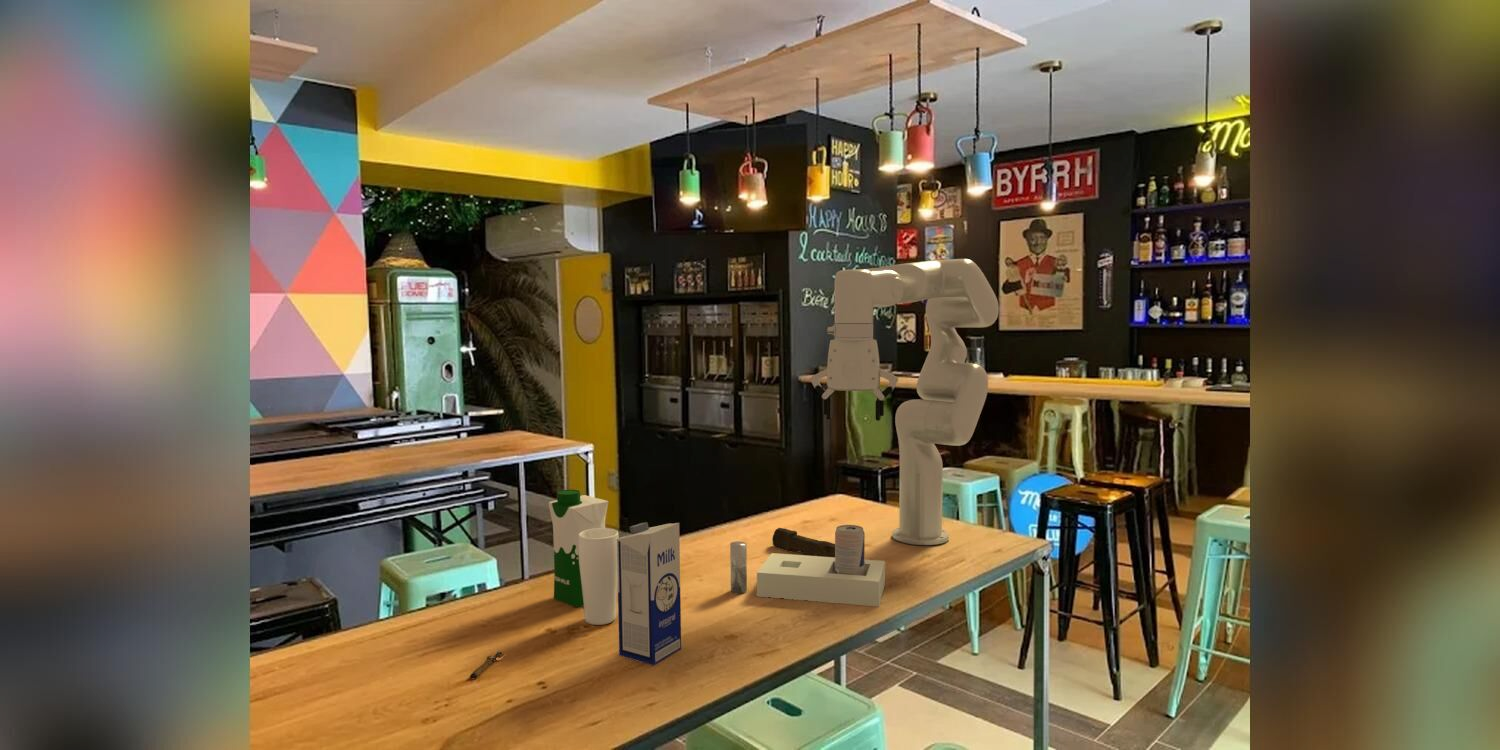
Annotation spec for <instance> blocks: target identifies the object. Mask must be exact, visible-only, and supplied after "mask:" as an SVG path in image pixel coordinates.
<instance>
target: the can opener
mask: <svg viewBox="0 0 1500 750" xmlns="http://www.w3.org/2000/svg"><path fill="white" fill-rule="evenodd" d="M499 654H501V655H503V653H502V651H499V650H497V652H496V653H495V655H494V656H492V655H489V656H486V660H485V662H484V663H482V665H479V666H478V667H477V668H475V670H474V671H473V672H472V673H471V674H470V675H469V678H477V677H478V676H479V677H481V676H482V675H483V674H484V673H485V672H486V671H487V669H489V668H490V667H491V666H492V665H493V664H494V663H495V662H494V660H496V658H497V657H499V656H500V655H499ZM492 663H493V664H492ZM491 664H492V665H491ZM490 665H491V666H490ZM489 666H490V667H489ZM488 667H489V668H488ZM485 670H486V671H485ZM484 671H485V672H484ZM483 672H484V673H483ZM482 673H483V674H482ZM481 674H482V675H481ZM480 675H481V676H480ZM479 677H478V678H479ZM478 678H477V679H478Z"/></svg>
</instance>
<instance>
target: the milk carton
mask: <svg viewBox="0 0 1500 750" xmlns="http://www.w3.org/2000/svg"><path fill="white" fill-rule="evenodd" d="M629 531H630V534H627V535H623V536H621V537H619V538H618V539H616V540H617V575H618V585H617V605H618V607H617V609H618V610H617V611H618V613H617V614H618V648H619V649H618V651H619V656H620V655H621V656H620V657H623V656H624V657H623V658H627V657H628V659H630V658H631V660H634V659H635V660H634V661H637V660H638V662H641V661H642V662H641V663H645V664H648V663H649V664H648V665H652V666H655V665H656V664H658V663H660V662H661V661H663V660H665V659H666V658H668V657H670V656H671V654H672V655H674V654H676V653H677V652H678V651H680V650H682V625H681V624H682V620H681V619H682V615H681V614H682V611H681V609H682V607H681V555H680V552H681V551H680V550H681V549H680V545H681V544H680V542H681V541H680V522H675V523H671V522H670V523H665V524H661V525H657V526H652V527H650V526H649V523H648V522H647V521H645V522H641V523H638V524H635V525H631V526H629Z"/></svg>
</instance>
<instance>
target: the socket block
mask: <svg viewBox="0 0 1500 750" xmlns="http://www.w3.org/2000/svg"><path fill="white" fill-rule="evenodd" d="M885 585H886V561H885V560H878V559H864V576H859V575H846V574H835V557H820V556H814V555H807V554H806V555H803V554H790V553H777V552H776V553H773V552H771V554H769V556H768V557H767V559H766V560H765V561H764V562H763V564H762V565H761V566H760V568H759V569H758V570H757V572H756V597H757V596H759V597H760V598H768V597H771V598H770V599H780V598H784V599H783V600H792V599H793V600H794V601H804V600H808V601H807V602H816V601H817V603H818V602H819V603H830V604H839V605H840V604H844V605H853V606H855V605H856V606H866V607H867V606H868V607H878V608H879V607H880V604H881V600H882V596H883V593H884V589H885ZM759 597H758V598H759Z"/></svg>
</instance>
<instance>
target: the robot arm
mask: <svg viewBox="0 0 1500 750" xmlns="http://www.w3.org/2000/svg"><path fill="white" fill-rule="evenodd" d="M834 276H835V277H834V323H833V325H832V326H828V327H827V330H826V331H827V334H828V335H829V334H830V335H832V336H833V338H834V339H831V340H830V341H829V348H828V354H827V366H826V367H827V368H825V369H823V370H821V371H819V372H817V373H816V374H813V375H811V376H810V378H809V380H810V382H811V384H812V386H813V388H814V389H815V391H816V392H817V394H819V395H820V397H821V399H823V415H824V416H825V415H826V420H830V419H832V418H833V417H834V415H833V412H834V411H833V408H834V404H833V400H834V399H833V398H832V394H833V393H834V392H835V391H839V392H840V391H841V392H842V391H843V392H844V391H847V392H848V391H849V392H872V393H873V394H874V395H875V396H876V400H875V420H876V421H878V422H879V421H880V420H881V418H882V417H884V415H885V399H886V397H888V396H889V395H890V394H891V393H892V392H893V391H894V389H895V387H896V385H897V383H898V382H899V377H897V376H895V374H892V373H891V372H888V371H886V370H885V369H882V368H881V366H880V355H879V346H878V342H877V339H874V308H887V307H893V306H894V305H896V304H907V303H916V302H920V301H927V302H926V304H925V316H926V320H927V321H926V322H927V326H928V331H929V334H930V342H931V343H930V348H929V351H928V353H927V356H926V358H925V361H924V363H923V366H922V368H921V370H920V373H919V376H918V379H917V383H916V392H917V394H918V396H919V397H920V399H918V398H917V399H916V398H915V399H909V400H906V401H904V402H902V403H901V404H900V405H899V406H898V407H897V409H896V412H895V417H894V420H895V421H894V423H895V428H896V434H897V435H896V436H897V439H898V440H897V441H898V449H899V451H898V452H899V504H898V505H899V508H898V509H899V512H898V514H899V516H898V517H899V519H898V521H899V523H898V524H899V526H898V527H896V528H895V529H893V530H892V538H893V539H894V540H896V541H897V542H899V543H904V544H908V545H914V546H934V545H935V546H936V545H942V544H944V543H947V542H948V541H949V540H950V534H949V532H947V531H946V530H944V529H943V477H944V476H943V475H944V473H943V469H944V467H943V460H942V456H941V454H940V451H939V450H938V448H937V446H936V445H935V444H937V445H946V446H956V447H957V446H958V447H960V446H964V445H966V444H967V443H969V441H970V440H971V438H972V437H973V434H974V432H975V429H976V427H977V424H978V421H979V419H980V415H981V413H982V411H983V408H984V405H985V402H986V400H987V396H988V391H989V377H988V374H987V371H986V370H985V368H984V367H983V366H982V365H979V364H977V363H973V362H966V359H967V355H968V354H967V353H968V350H967V347H966V345H965V342H964V340H963V339H962V338H961V336H960V335H959V334H958V332H957V329H956V328H988V327H991V326H992V325H993V324H994V323H995V322H996V320H997V319H998V317H999V313H1000V312H999V311H1000V310H999V309H1000V308H999V307H1000V306H999V301H998V299H997V296H996V294H995V292H994V290H993V288H992V287H991V284H990V282H989V281H988V280H987V277H986V276H985V274H984V272H982V269H981V268H980V267H979V266H978V265H977V263H976V262H974V261H973V260H971V259H968V258H955V259H954V258H953V259H951V258H950V259H934V260H932V259H931V260H926V261H925V260H924V261H918V262H908V263H907V262H906V263H899V264H898V263H897V264H894V265H888V266H886V265H885V266H880V267H871V268H865V269H862V268H861V269H853V268H852V269H841V270H839V271H837V272H836V274H835V275H834ZM824 377H826V385H827V388H826V389H825V388H824V387H823V386H822V385H821V383H820V380H821V379H822V378H824ZM881 378H883V379H885V380H887V381H888V385H887V387H886V388H885V389H884V390H882V389H881V388H880V385H881Z"/></svg>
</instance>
